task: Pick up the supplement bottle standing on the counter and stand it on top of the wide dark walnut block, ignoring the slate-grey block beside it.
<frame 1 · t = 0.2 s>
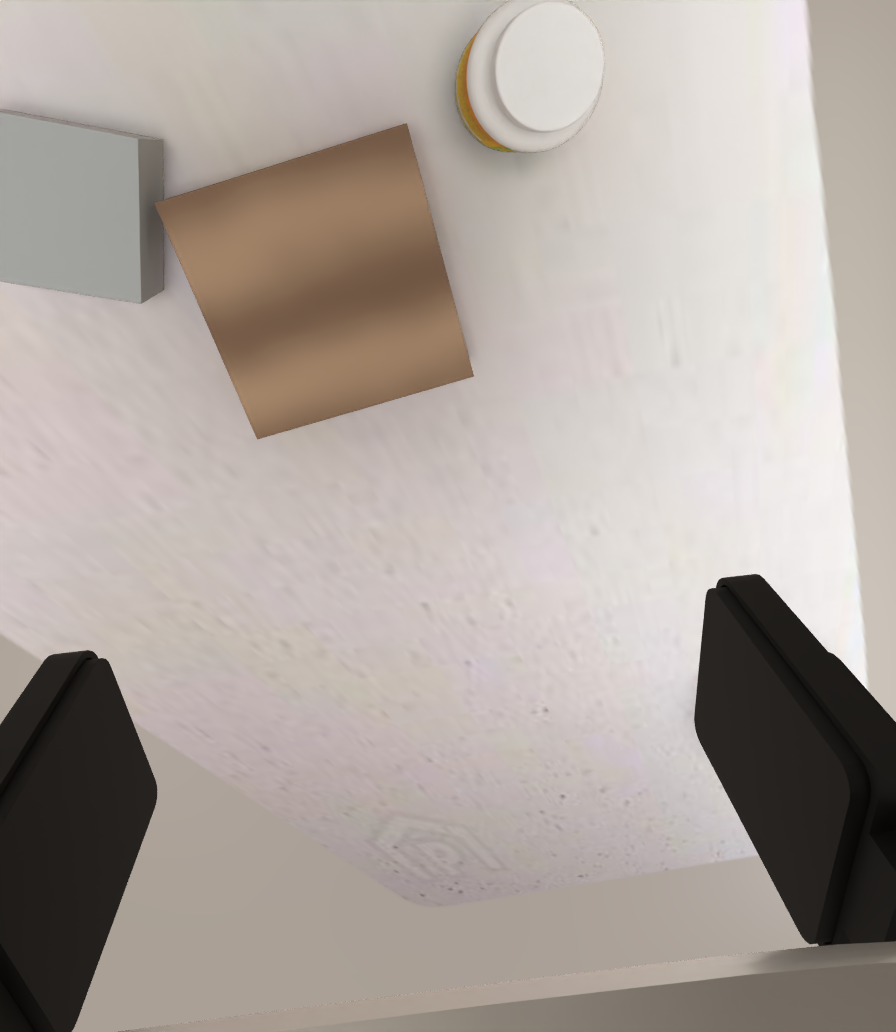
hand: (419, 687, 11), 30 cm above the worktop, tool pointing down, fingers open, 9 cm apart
supplement bottle: (509, 89, 34), on the worktop
slate block: (91, 204, 35), on the worktop
walnut block: (329, 285, 37), on the worktop
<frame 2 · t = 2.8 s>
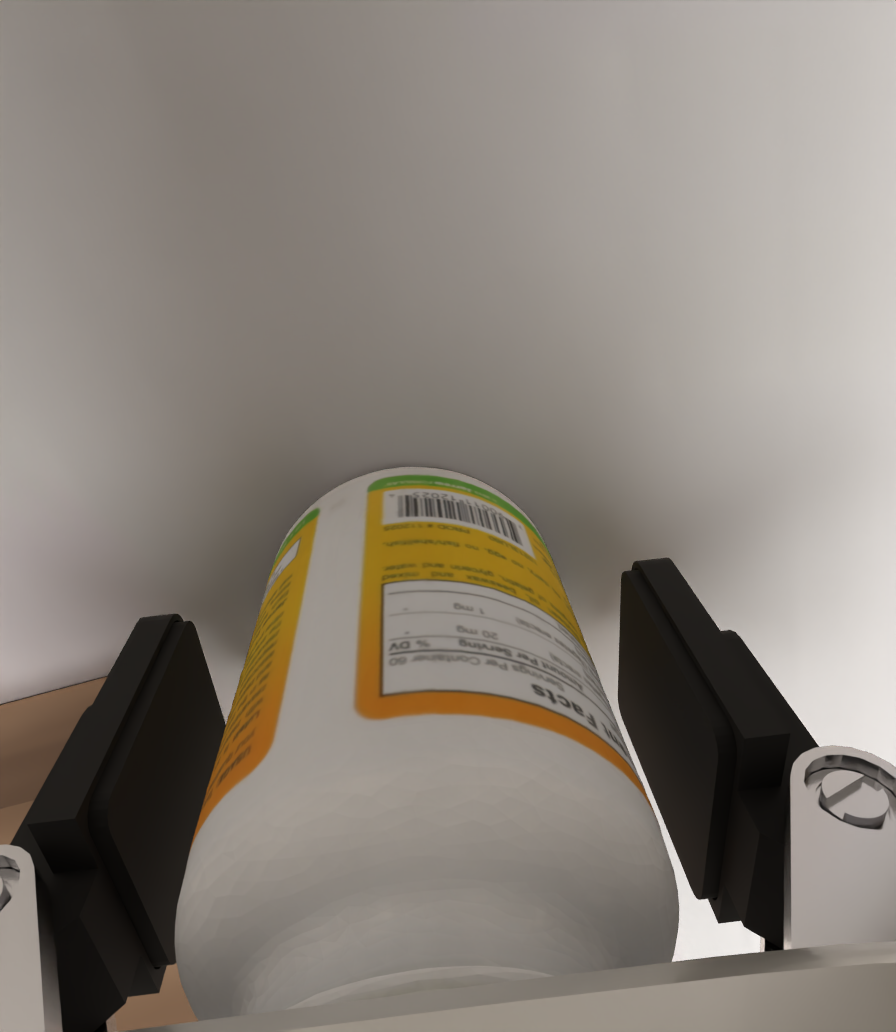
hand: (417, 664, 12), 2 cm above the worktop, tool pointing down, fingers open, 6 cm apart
supplement bottle: (413, 581, 14), on the worktop
walnut block: (40, 910, 17), on the worktop
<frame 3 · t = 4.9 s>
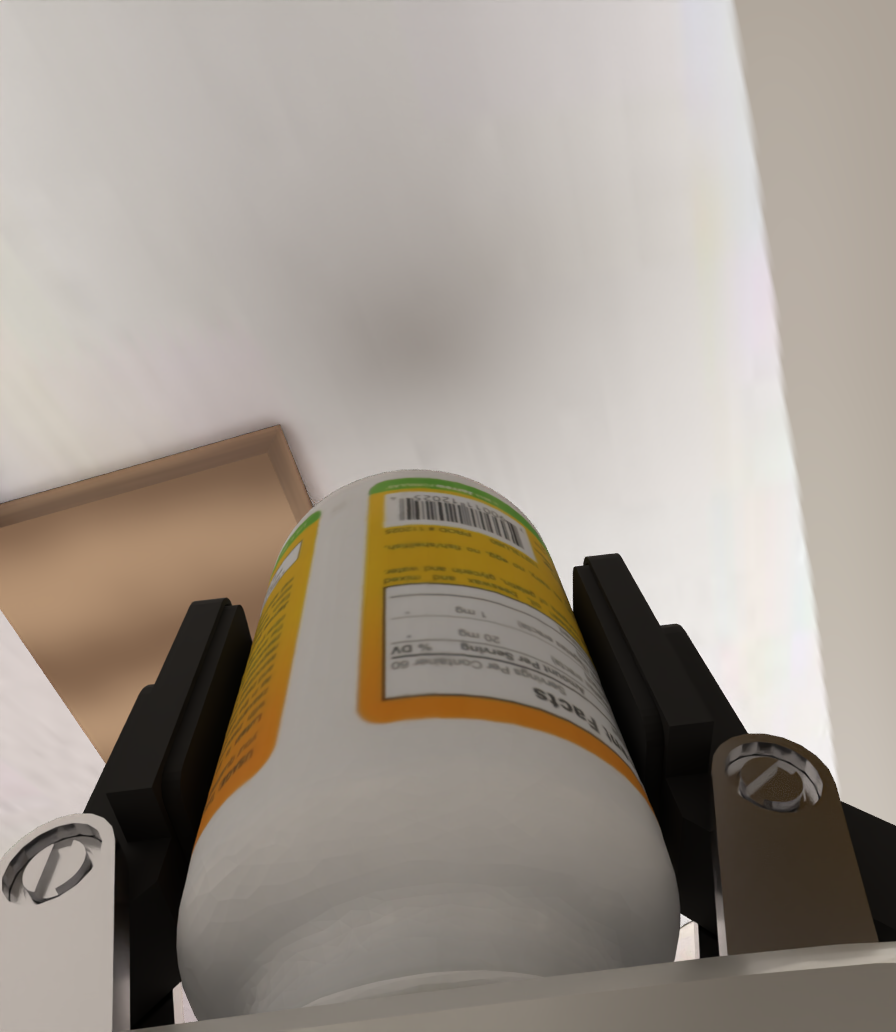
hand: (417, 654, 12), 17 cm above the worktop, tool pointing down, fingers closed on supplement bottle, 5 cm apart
supplement bottle: (414, 584, 14), point 15 cm above the worktop, touching gripper
beer glass: (711, 940, 45), on the worktop
walnut block: (199, 588, 31), on the worktop
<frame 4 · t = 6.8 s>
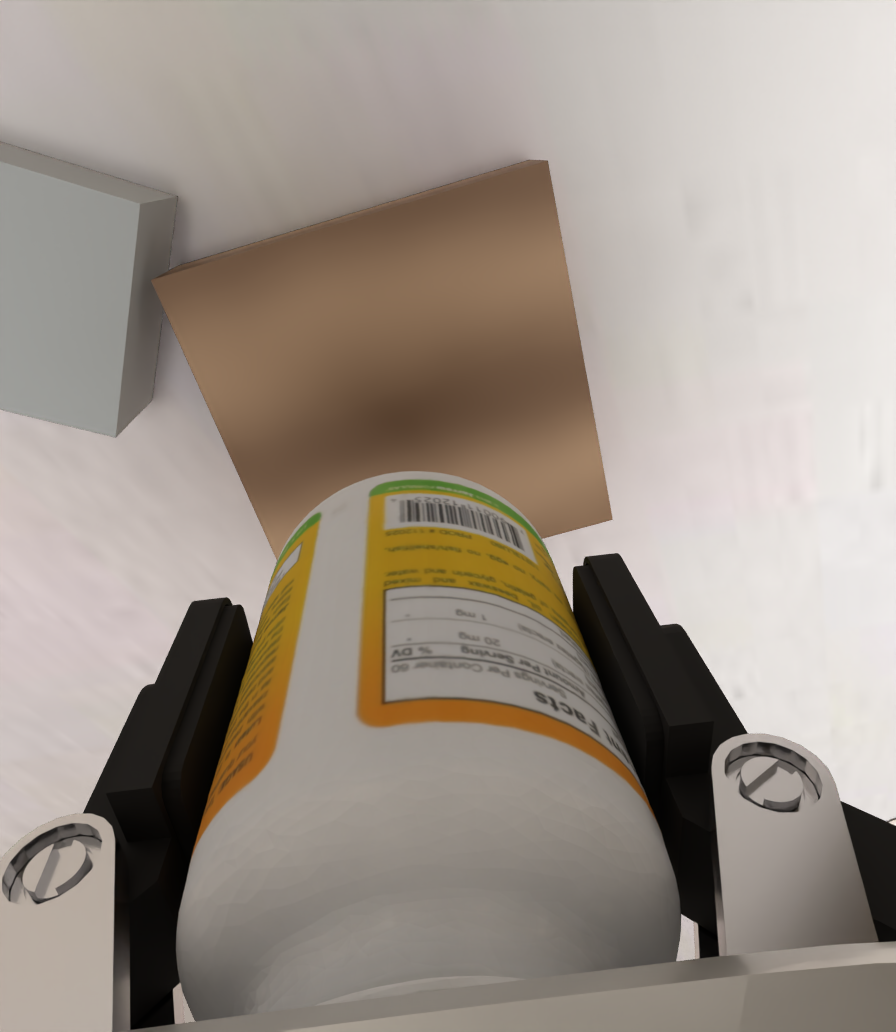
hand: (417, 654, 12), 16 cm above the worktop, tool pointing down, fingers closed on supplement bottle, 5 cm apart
supplement bottle: (414, 585, 14), point 13 cm above the worktop, touching gripper
slate block: (57, 273, 23), on the worktop
walnut block: (404, 385, 26), on the worktop
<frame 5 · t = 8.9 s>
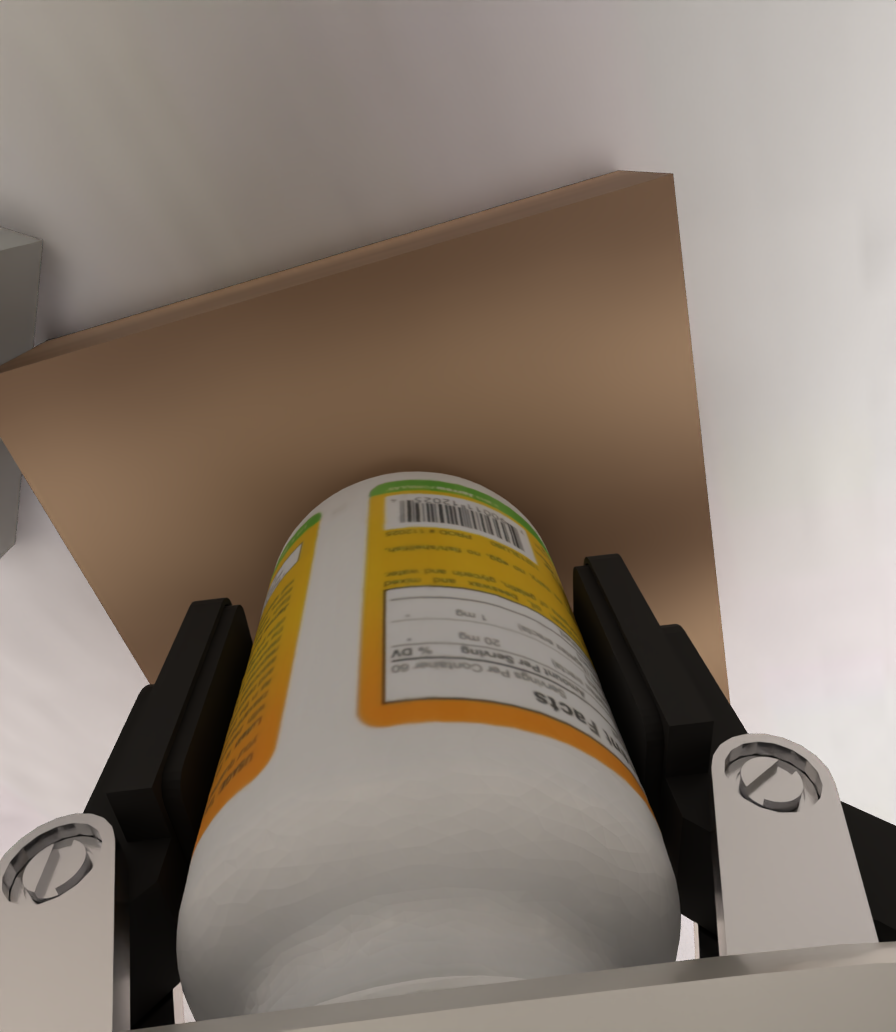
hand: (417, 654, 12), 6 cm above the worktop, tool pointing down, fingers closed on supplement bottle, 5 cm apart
supplement bottle: (414, 586, 14), point 3 cm above the worktop, touching gripper
walnut block: (410, 514, 17), on the worktop
when the fingers open (5 cm above the worktop, at t = 10.6 s): supplement bottle stays where it is, resting on walnut block.
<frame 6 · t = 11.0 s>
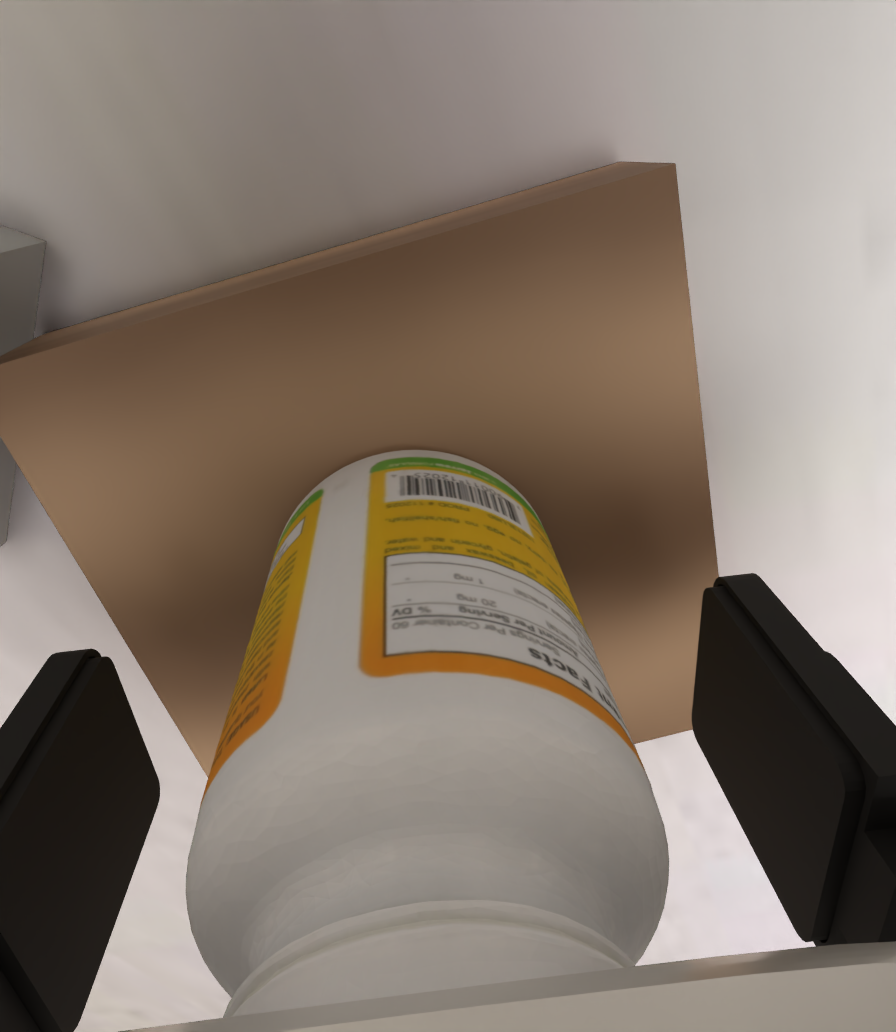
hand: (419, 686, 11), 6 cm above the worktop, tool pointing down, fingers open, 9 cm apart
supplement bottle: (414, 564, 14), point 3 cm above the worktop, touching walnut block
walnut block: (410, 509, 17), on the worktop
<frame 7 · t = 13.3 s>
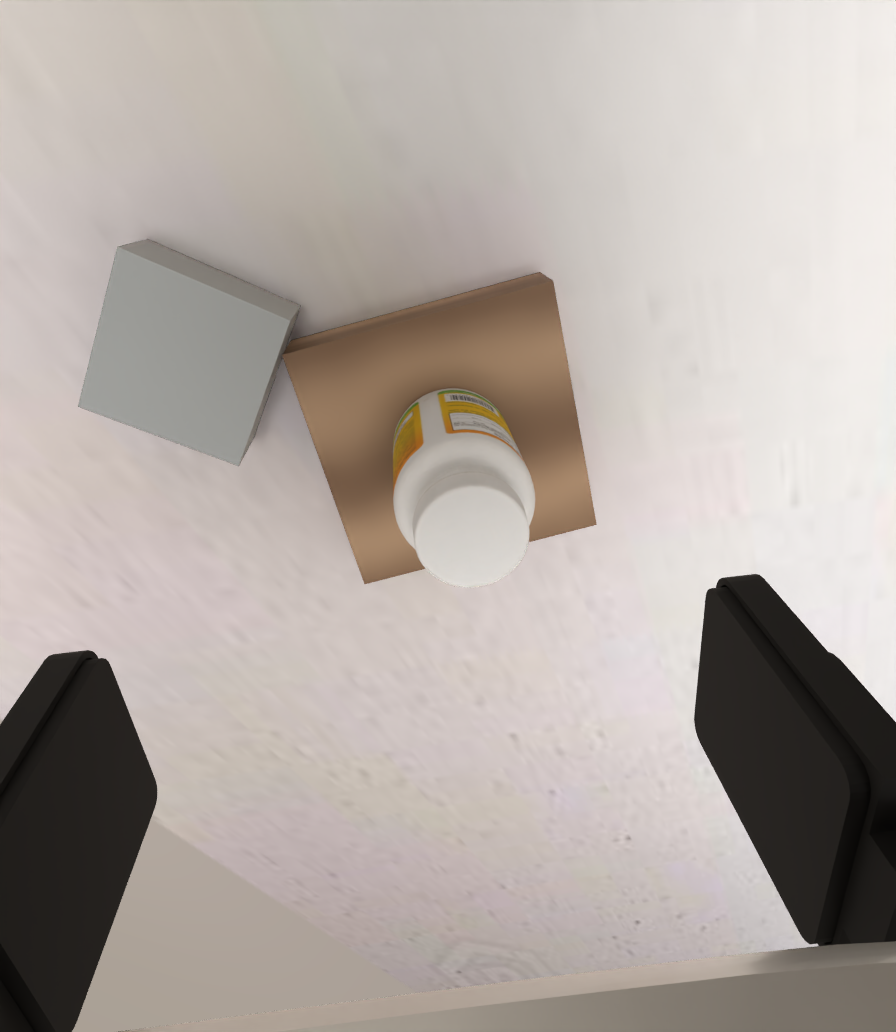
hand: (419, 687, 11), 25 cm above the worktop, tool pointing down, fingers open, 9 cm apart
supplement bottle: (450, 441, 33), point 3 cm above the worktop, touching walnut block
slate block: (205, 343, 33), on the worktop
walnut block: (446, 425, 35), on the worktop
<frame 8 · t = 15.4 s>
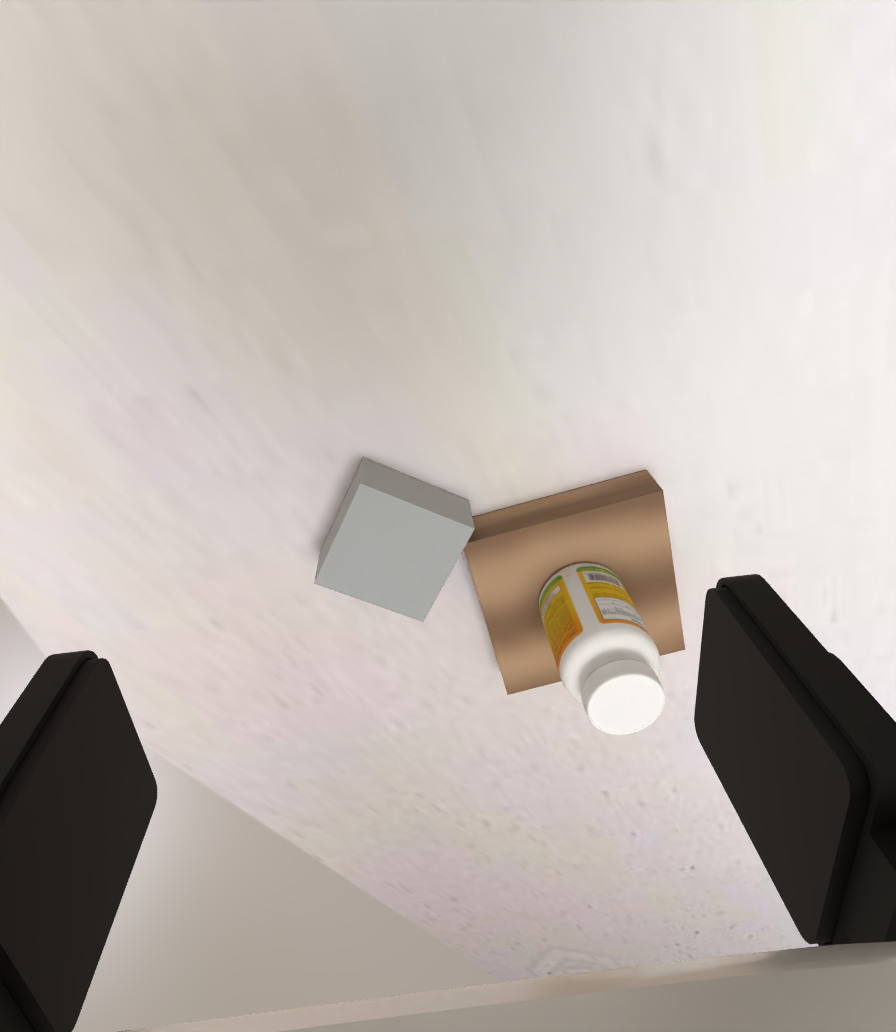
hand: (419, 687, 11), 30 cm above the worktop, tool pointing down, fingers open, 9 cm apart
supplement bottle: (579, 595, 44), point 3 cm above the worktop, touching walnut block
slate block: (393, 524, 44), on the worktop
walnut block: (569, 574, 46), on the worktop
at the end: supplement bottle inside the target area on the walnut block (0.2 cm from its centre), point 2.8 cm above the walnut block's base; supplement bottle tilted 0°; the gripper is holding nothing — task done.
